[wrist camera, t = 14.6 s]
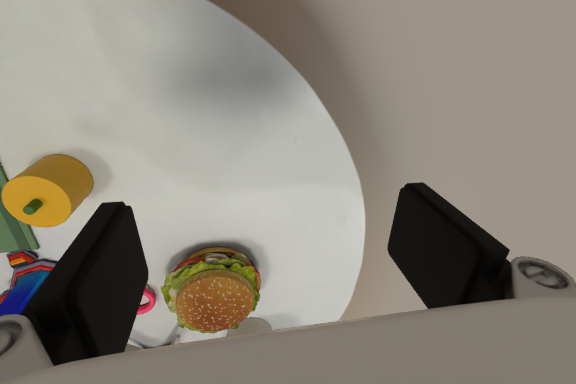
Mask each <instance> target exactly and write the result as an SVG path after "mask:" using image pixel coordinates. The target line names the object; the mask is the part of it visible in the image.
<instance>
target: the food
mask: <svg viewBox="0 0 576 384" xmlns="http://www.w3.org/2000/svg"><path fill="white" fill-rule="evenodd" d="M260 284H261V279H260V275H259V272H258V271H257V270H256V268H255V266H254V264H253V262H252V261H250V260H249V259H248V258H247V257H246V256H245V255H244V254H240V253H239V252H237V251H235V250H233V249H229V248H222V247H214V248H206V249H203V250H201V251H198V252H196V253H194V254H192V255H191V256H190V257H189V258H187V259H186V260H185V261H183V262H182V263H180V264H179V265H178V266H177V267H176V268H175V269H174V271H173V272H172V273H170V274H169V275H168V276H167V277H166V280H165V283H164V286H163V287H161V291H162V293H163V294H164V299H165V301H166V303H167V305H168V308H169V309H170V311H171V312H174V313H176V314H177V316H178V317H177V320H178V325H179V326H180V327H182V328H184V327H187V328H189V329H190V330H197V331H200V332H202V333H216V332H218V331H221V330H225V329H229V328H231V329H237V328H238V326H239V323H240V322H242V321H243V320H244V319H245V318H246V317H247V316H248V315H249V313H250V312H251V311H254V310H255V307H256V305H257V302H258V301H259V299H260V294H259V289H260Z"/></svg>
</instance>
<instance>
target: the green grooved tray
mask: <svg viewBox="0 0 576 384" xmlns="http://www.w3.org/2000/svg"><path fill="white" fill-rule="evenodd" d="M7 182H9V181H8V179H7V177H6V175H5V172H4V170H3V168H2V166H1V164H0V253H2V252H14V251H19V250H22V249H24V250H26V251H31V250H38V249H39V248H40V247H39V245H38V243H37V241H36V239H35V237H34V234H33V232H32V230H31V228H30V226H29V224H26V223H24V222H21V221H20V220H18V219H16V218H15V217H14V216H13V215H11V214H10V213H9V212H8V210H7V209H6V208H5V206H4V204H3V201H2V190H3V187H4V186H5V184H6V183H7Z"/></svg>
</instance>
